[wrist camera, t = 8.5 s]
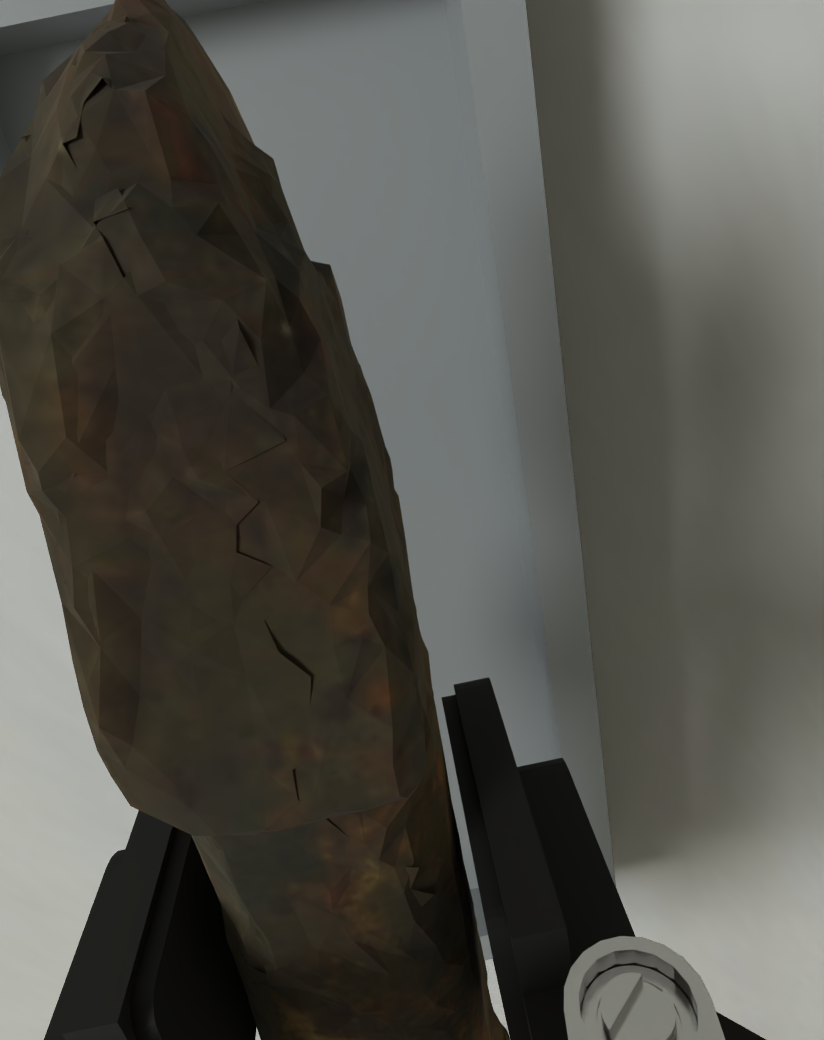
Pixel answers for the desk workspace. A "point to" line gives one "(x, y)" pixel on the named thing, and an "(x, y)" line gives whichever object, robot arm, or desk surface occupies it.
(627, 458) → the desk surface
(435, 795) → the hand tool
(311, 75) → the tray
